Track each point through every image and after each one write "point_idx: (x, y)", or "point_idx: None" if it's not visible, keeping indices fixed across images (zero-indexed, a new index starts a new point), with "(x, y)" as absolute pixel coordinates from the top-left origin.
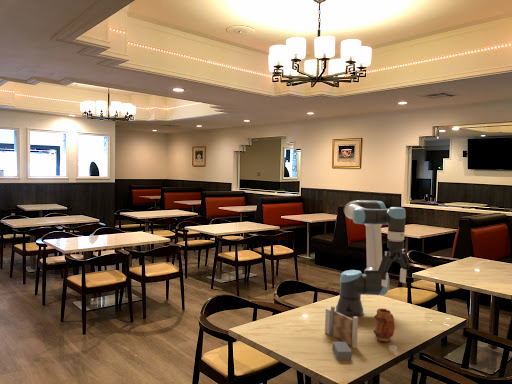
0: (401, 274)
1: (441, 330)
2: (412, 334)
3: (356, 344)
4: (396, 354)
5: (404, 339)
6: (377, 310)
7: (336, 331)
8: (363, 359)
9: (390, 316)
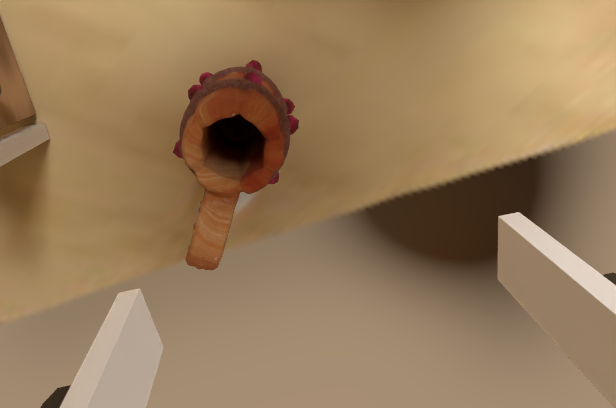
0: (563, 295)
1: (607, 123)
2: (436, 110)
3: (39, 143)
4: None
5: (350, 144)
6: (195, 118)
7: None
8: (22, 246)
9: (195, 264)
